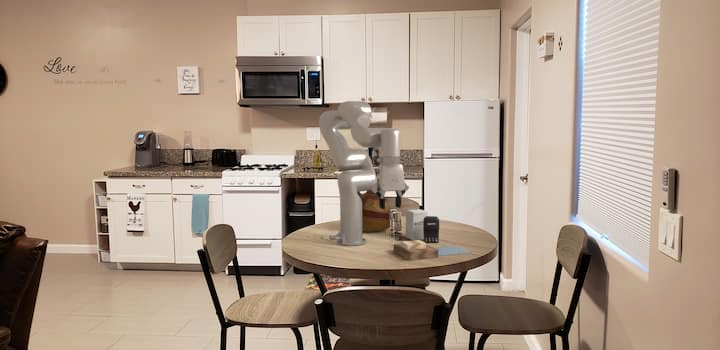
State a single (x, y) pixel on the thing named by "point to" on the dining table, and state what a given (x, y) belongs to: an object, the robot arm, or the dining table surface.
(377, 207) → the brown vase
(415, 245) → the birch slab
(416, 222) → the supplement box
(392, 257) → the dining table surface
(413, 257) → the walnut block
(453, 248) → the rubber mat
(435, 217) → the battery
